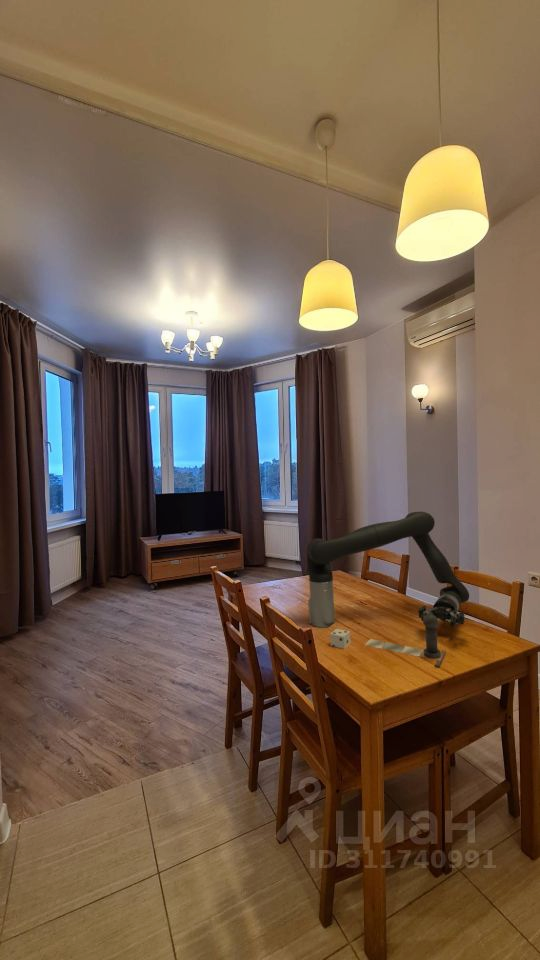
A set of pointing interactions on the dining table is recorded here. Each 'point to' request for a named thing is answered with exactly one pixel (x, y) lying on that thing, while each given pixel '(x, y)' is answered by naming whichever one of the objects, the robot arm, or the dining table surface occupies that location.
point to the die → (340, 638)
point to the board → (404, 650)
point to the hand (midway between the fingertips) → (437, 621)
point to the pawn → (431, 636)
